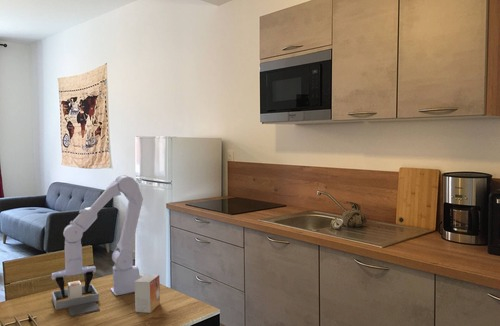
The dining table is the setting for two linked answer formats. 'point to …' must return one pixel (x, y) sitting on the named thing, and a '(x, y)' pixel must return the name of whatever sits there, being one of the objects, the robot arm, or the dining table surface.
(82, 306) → the mat
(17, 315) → the dining table surface
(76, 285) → the block
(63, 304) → the grey rectangular frame
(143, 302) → the small box
